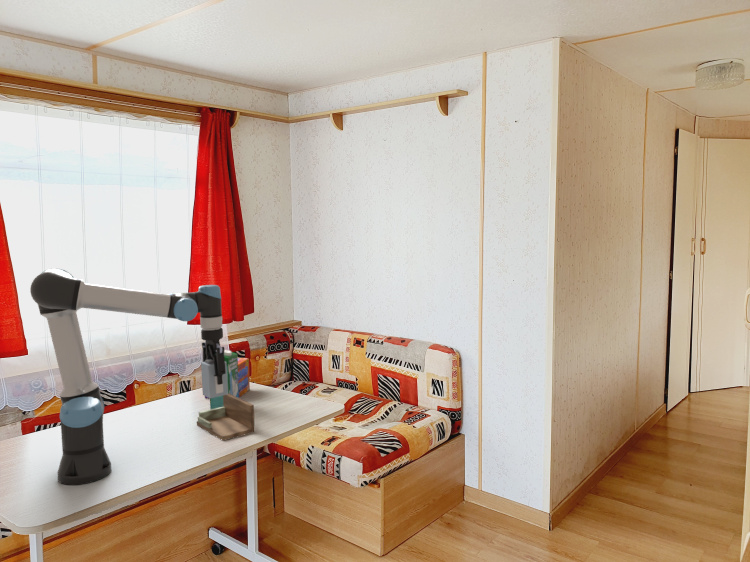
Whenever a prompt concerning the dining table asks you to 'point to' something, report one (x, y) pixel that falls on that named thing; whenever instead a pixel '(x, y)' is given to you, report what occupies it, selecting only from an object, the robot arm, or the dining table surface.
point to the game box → (243, 376)
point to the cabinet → (212, 379)
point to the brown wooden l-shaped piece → (228, 418)
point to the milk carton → (228, 379)
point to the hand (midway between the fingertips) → (215, 390)
